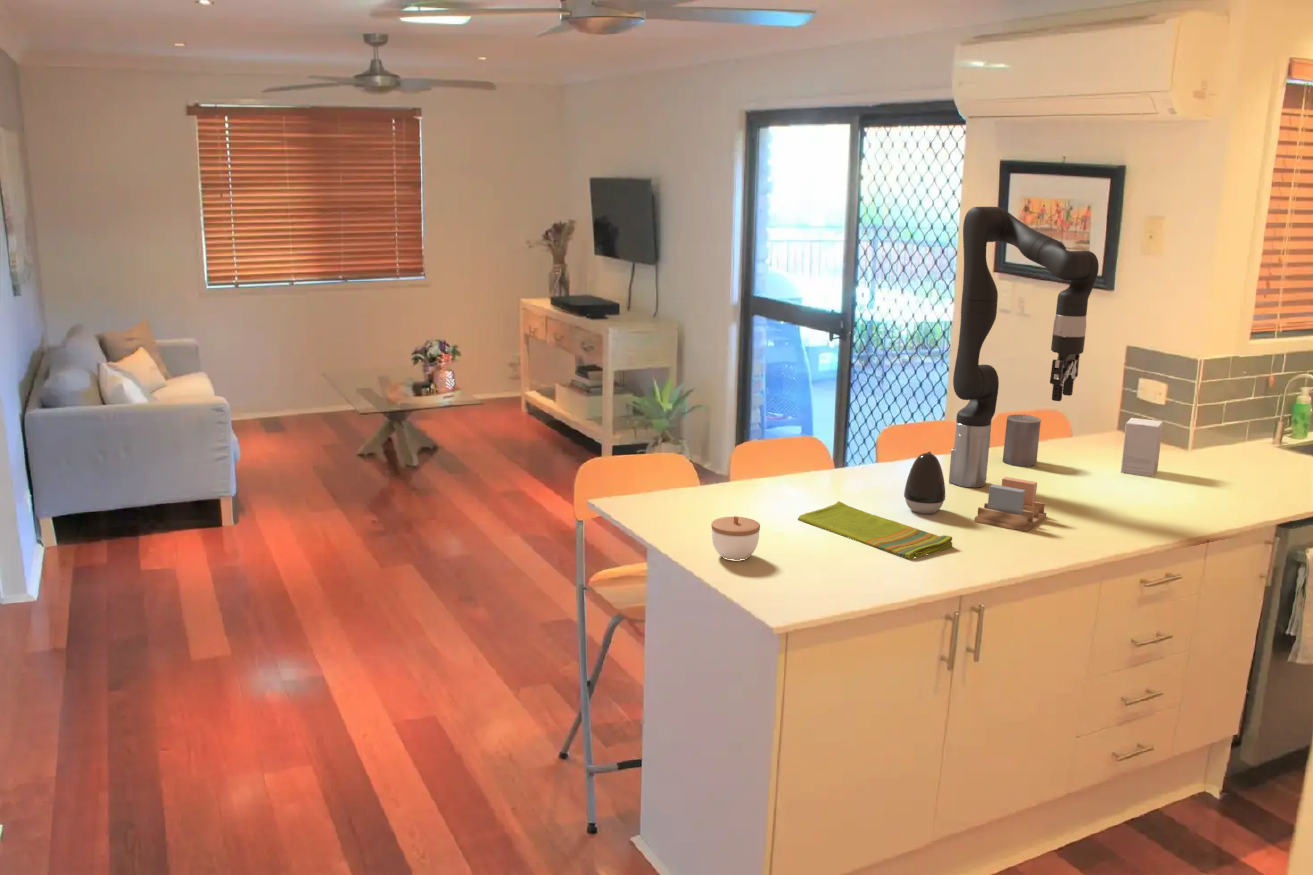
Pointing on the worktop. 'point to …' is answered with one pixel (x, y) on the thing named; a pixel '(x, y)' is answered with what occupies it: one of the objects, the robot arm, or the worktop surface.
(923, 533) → the dish towel
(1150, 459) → the supplement box
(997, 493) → the slate grey rectangular block
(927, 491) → the black egg-shaped piece
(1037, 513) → the dish rack
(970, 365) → the robot arm
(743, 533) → the lidded jar
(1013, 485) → the terracotta plate
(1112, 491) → the worktop surface
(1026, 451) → the pillar candle
